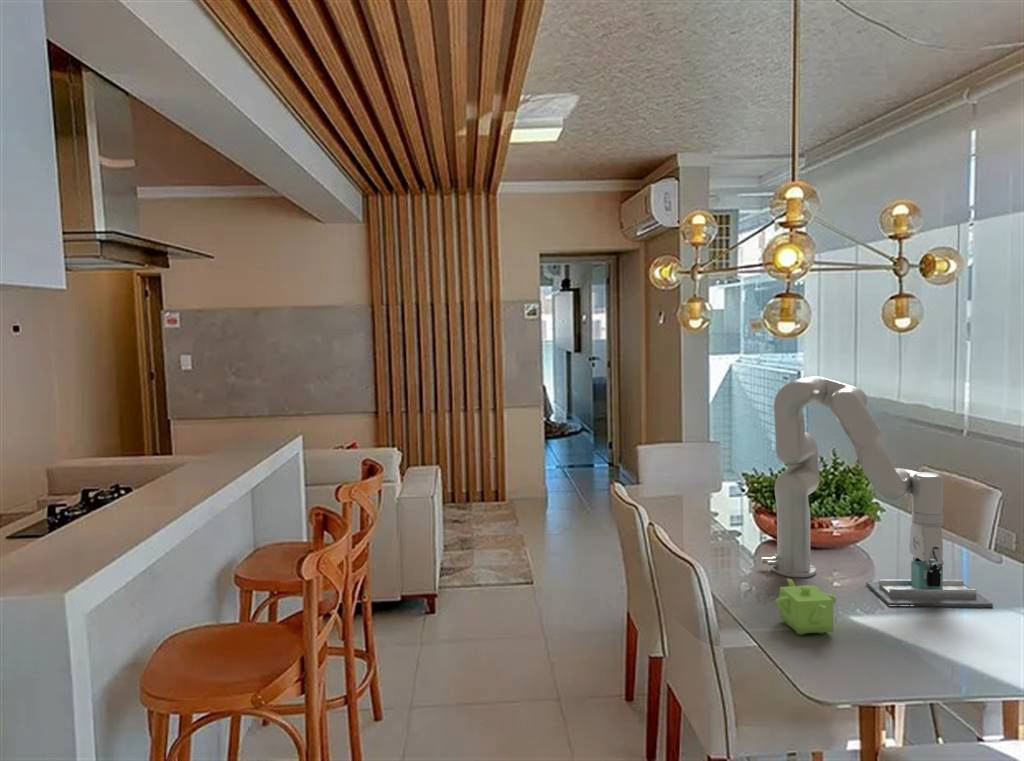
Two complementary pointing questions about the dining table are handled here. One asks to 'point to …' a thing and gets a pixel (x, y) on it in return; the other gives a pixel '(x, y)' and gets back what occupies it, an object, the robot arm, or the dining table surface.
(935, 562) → the robot arm
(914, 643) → the dining table surface
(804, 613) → the teapot
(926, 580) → the block
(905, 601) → the rail board
